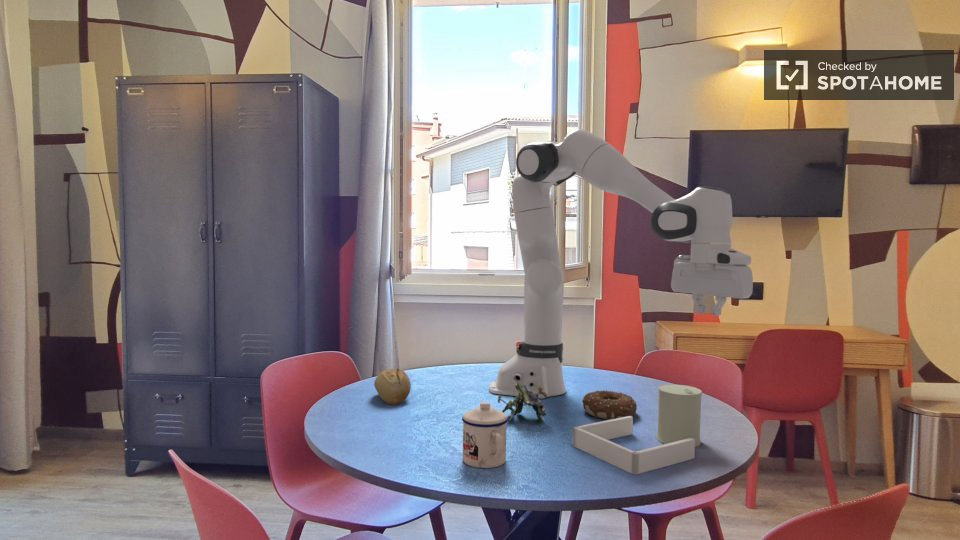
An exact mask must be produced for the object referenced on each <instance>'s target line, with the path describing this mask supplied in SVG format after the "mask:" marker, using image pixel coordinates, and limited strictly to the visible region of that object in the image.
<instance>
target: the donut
mask: <svg viewBox="0 0 960 540" xmlns="http://www.w3.org/2000/svg"><path fill="white" fill-rule="evenodd" d="M581 401H582V407H583V410H584V411H585V412H586V413H587V414H588V415H590V416H592V417H595V418H599V419H604V420H605V419H606V420H611V419H616V418H621V417H626V416H632V417H633V416H634V415H636V413H637V406H638V405H637V401H636V400H634V398H633V397H632V396H631V395H628V394H626V393H623V392H621V391H620V392H616V391H613V390H596V391H592V392H590V391H589V392H588V393H585V395H583V399H582V400H581Z"/></svg>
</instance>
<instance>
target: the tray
mask: <svg viewBox="0 0 960 540" xmlns="http://www.w3.org/2000/svg"><path fill="white" fill-rule="evenodd" d="M633 422H634V417H633V415H632V416H626V417H621V418H616V419H606V420H603V421H597V422H592V423H588V424H583V425H578V426H573V427H572V433H571V434H572V435H571V437H572V439H571V441H572V442H571V445H572V447H575V448H576V449H578V450H581V451H583V452H585V453H587V454H589V455H591V456H593V457H595V458H598V459H600V460H602V461H604V462H606V463H608V464H611V465H612V466H615V467H617V468H619V469H621V470H623V471H625V472H627V473H629V474H631V475H634V476H636V475H640V474H644V473H647V472H651V471H655V470H658V469H662V468H665V467H669V466H672V465H676V464H679V463H683V462H687V461H690V460H694V459H695V451H696V450H695V449H696V447H695V439H693V438H688V439H684V440H680V441H676V442H672V443H668V444H660V445H656V446H651V447H648V448H644V449H640V450H633V449H630V448H627V447H625V446H623V445H620V444H618V443H617V442H616V443H615V442H613V441H611V440H612V439H613V440H614V439H617V438H621V437H627V436H630V435H631V436H632V435H633V424H634V423H633Z"/></svg>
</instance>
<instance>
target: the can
mask: <svg viewBox="0 0 960 540" xmlns="http://www.w3.org/2000/svg"><path fill="white" fill-rule="evenodd" d="M702 394H703V391H702V390H701V389H699V388H697V387H695V386H691V385H687V384H686V385H684V384H676V383H675V384H674V383H672V384H662V385H660V386H658V410H657V411H658V412H657V413H658V416H657V435H656V440H657V441H658V442H660V443H662V445H664V444H668V443H672V442H676V441H680V440H684V439H688V438H693V439H695V448H696V447H699V446H700V445H701V411H702V410H701V409H702Z"/></svg>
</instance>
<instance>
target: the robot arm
mask: <svg viewBox="0 0 960 540" xmlns="http://www.w3.org/2000/svg"><path fill="white" fill-rule="evenodd" d="M515 165H516V170H517V172H518V174H519V175H517V176H516V177H515V178H514V179H513V181H512V187H511V188H512V189H511V191H512V193H511V195H512V208H513V209H512V210H513V215H514V220H515V221H514V223H515V227H516V232H517V238H518V240H517V241H518V244H519V245H518V246H519V250H520V255H521V256H520V257H521V261H522V267H523V272H524V285H523V286H524V287H523V288H524V294H523V295H524V297H523V299H524V300H523V303H524V304H523V305H524V307H523V308H524V309H523V311H524V312H523V313H524V314H523V341H522V340H518V341H517V342H516V343H515V346H516V354H515V355H514V356H513V357H511V358H510V359H508V360H507V361H506V362H504V363H503V364H502V365H501V366H499V367H500V368H499V369H498V371H497V376H496V379H495V380H492V382H490V384H489V386H488V390H489V392H490V393H491V394H495V395H504V396H511V397H513V396H514V397H516V396H517V397H518V394H519V392H518V390H517V389H516V388H515V384H517V382H519V383H520V384H521V386H524V385H526V386H527V388H528V389H530V390H531V391H532V392H533V393H534V394H538V392H539V390H538V388H537V385H538V386H540V387H541V388H542V389H543V390H544V391H545V393H546V394H547V397H545V396H544V395H543V394H539V395H538V397H539V398H538V399H546V398H549V397H555V396H560V395H564V394H566V392H567V388H566V385H565V381H564V380H565V379H564V373H563V372H564V371H563V362H564V344H563V342H562V341H563V339H562V335H563V309H564V291H565V289H564V288H565V287H564V286H565V273H564V269H562V265H561V258H560V252H559V246H558V238H557V231H556V225H555V220H554V211H553V206H552V201H551V195H550V193H551V188H552V186H560V185H561V184H562V183H564V182H566V181H567V180H569V179H571V178H573V177H574V176H575V175H576V174H577V175H579V176H580V177H581V178H582V179H583V180H584V181H586V182H587V183H589V184H590V185H591V186H593V187H595V188H596V189H599V190H601V191H603V192H606V193H609V194H613V195H616V196H621V197H624V198H626V199H627V198H628V199H629V200H632V201H633V202H635V203H637V204H639V205H640V206H641V207H643V208H645V210H647V211H648V212H649V213H651V217H650V227H651V230H652V231H653V233H654V234H655V235H656V237H658V238H659V239H662V240H664V241H668V242H676V243H677V242H679V243H683V244H690V254H687V255H685V254H680V255H678V256H677V257H675V259H674V261H673V269H672V274H671V279H670V280H671V281H670V288H671V289H672V291H673V292H674V293H685V294H692V298H691V299H692V301H693V302H694V305H695V311H696V314H702V315H703V314H706V312H707V306H706V305H704V303H703V301H702V299H703V297H704V296H711V297H715V302H716V304H715V305H714V307H711V309H710V315H712V316H716V317H721V315H722V308H723V307H724V306H725V303H726V302H727V298H731V299H740V300H741V299H750V297H751V296H752V294H753V291H754V290H753V289H754V281H753V271H752V268H751V266H748V265H751V264H752V257H751V255H749V254H748V253H747V254H746V253H745V252H742V251H738V250H737V249H734V248H732V238H731V230H732V226H733V205H732V204H733V203H732V198H731V194H730V193H729V192H728V191H726V190H725V189H722V188H717V187H712V186H704V185H703V186H697V187H696V188H694V189H693V190H692V191H691V192H690V193H687V194H686V195H683V196H681V197H680V198H679V197H678V198H677V199H676V198H674V197H673V196H671V195H670V194H668V193H667V192H666V191H665V190H663V189H662V188H660V187H659V186H657V185H656V184H654V183H653V181H651V180H649V179H648V178H647V177H646V176H645V175H644V174H643V173H641V172H640V171H639V170H638V169H637V168H636V166H634V165H633V164H632V163H631V162H630V161H629V160H628V158H626V157H625V156H624V154H622V152H620V151H619V150H618V149H617V148H616V147H614V146H612V144H610V143H609V142H607V140H604V139H603V138H602V137H600V136H598V135H596V134H594V133H592V132H590V131H588V130H586V129H581V128H578V129H574V130H572V131H570V132H568V134H566V136H565V137H564V138H563V139H562V141H561V142H560V141H559V142H558V141H550V140H549V141H545V142H544V141H536V142H535V141H534V142H531V143H528V144H526V145H524V146H522V147H521V148H520V149H519V151H518V152H517V155H516V158H515ZM523 384H524V385H523Z"/></svg>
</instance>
